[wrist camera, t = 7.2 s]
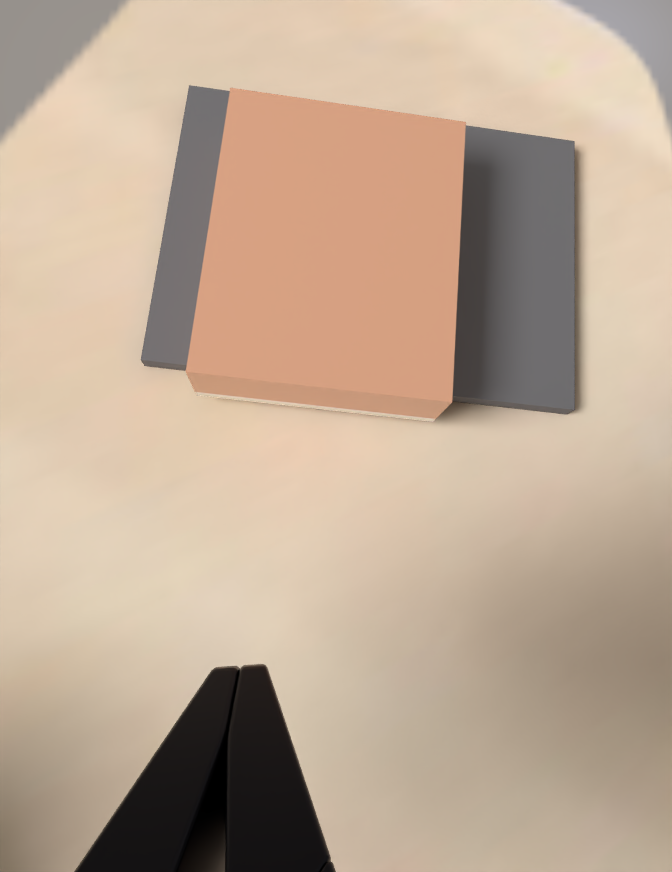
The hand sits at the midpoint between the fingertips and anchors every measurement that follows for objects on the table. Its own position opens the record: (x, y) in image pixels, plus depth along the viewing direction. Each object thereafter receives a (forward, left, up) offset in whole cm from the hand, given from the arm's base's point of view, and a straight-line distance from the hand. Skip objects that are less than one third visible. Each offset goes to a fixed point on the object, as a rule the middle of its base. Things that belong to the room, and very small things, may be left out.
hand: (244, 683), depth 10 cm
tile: (+7, -1, -8) cm, 11 cm away
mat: (+14, -2, -10) cm, 17 cm away
